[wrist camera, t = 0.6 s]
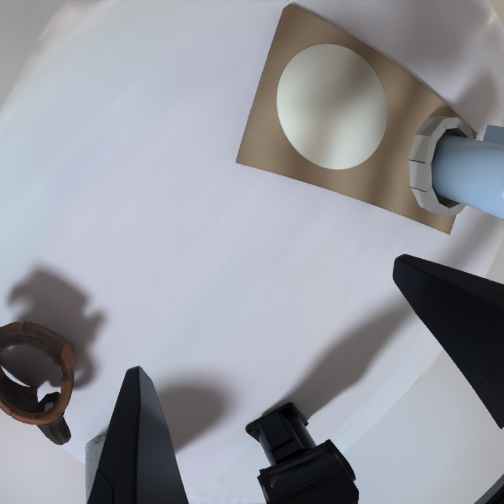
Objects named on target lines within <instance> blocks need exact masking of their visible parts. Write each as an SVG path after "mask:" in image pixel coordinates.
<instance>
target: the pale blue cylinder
mask: <svg viewBox="0 0 504 504" xmlns="http://www.w3.org/2000/svg"><path fill="white" fill-rule="evenodd" d="M431 173H432V188H433V190H434V193H435V195H438V196H441V197H444V198H447V199H450V200H453V201H456V202H459V203H461V204H464V205H467V206H470V207H473V208H475V209H478V210H481V211H483V212H486V213H488V214H491V215H494V216H496V217H499V218H501V219H504V127H499V126H493V125H487V128H486V132H485V135H484V138H483V141H481V140H476V139H470V138H464V137H458V136H451V135H444V134H442V136H441V137H440V138H439V140H438V141H437V142H436V146H435V150H434V154H433V158H432V162H431Z"/></svg>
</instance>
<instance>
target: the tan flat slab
mask: <svg viewBox="0 0 504 504" xmlns="http://www.w3.org/2000/svg"><path fill="white" fill-rule="evenodd" d="M442 134H444V135H451V136H458V137H464V138H470V139H476V134H477V133H476V132H475V131H474V130H473V129H472V128H471V127H470V126H469V125H468V124H467V123H466V122H465V121H464V120H463V119H462V118H461V117H460V116H459V115H458V114H457V113H456V112H455V111H453V110H452V109H451V108H450V107H449V106H448V105H447V104H446V103H444V102H443V101H442V100H441V99H440V98H439V97H438V96H436V95H435V94H434V93H433V92H432V91H430V90H429V89H428V88H427V87H425V86H424V85H423V84H422V83H420V82H419V81H418V80H417V79H415V78H414V77H413V76H411V75H410V74H409V73H407V72H406V71H405V70H403V69H402V68H400V67H399V66H398V65H396V64H395V63H393V62H392V61H391V60H389V59H388V58H386V57H385V56H383V55H382V54H380V53H379V52H377V51H376V50H374V49H373V48H371V47H369V46H368V45H366V44H365V43H363V42H361V41H360V40H358V39H356V38H355V37H353V36H351V35H349V34H348V33H346V32H344V31H342V30H341V29H339V28H337V27H335V26H333V25H331V24H330V23H328V22H326V21H324V20H322V19H320V18H318V17H316V16H314V15H312V14H310V13H308V12H306V11H303V10H301V9H299V8H297V7H295V6H292V5H290V4H289V5H287V6H286V7H285V8H284V9H283V12H282V15H281V18H280V21H279V24H278V26H277V29H276V32H275V35H274V38H273V41H272V44H271V48H270V51H269V54H268V57H267V60H266V63H265V66H264V69H263V72H262V76H261V79H260V82H259V85H258V88H257V92H256V95H255V98H254V101H253V105H252V108H251V111H250V115H249V118H248V121H247V125H246V128H245V132H244V135H243V138H242V142H241V145H240V149H239V152H238V156H237V159H236V163H239V164H243V165H247V166H250V167H254V168H258V169H261V170H265V171H269V172H272V173H276V174H279V175H283V176H286V177H289V178H293V179H296V180H299V181H303V182H306V183H309V184H312V185H316V186H319V187H322V188H325V189H328V190H331V191H334V192H337V193H340V194H343V195H346V196H349V197H352V198H355V199H358V200H361V201H364V202H366V203H369V204H372V205H375V206H378V207H380V208H383V209H386V210H388V211H391V212H394V213H396V214H399V215H402V216H404V217H407V218H409V219H412V220H415V221H417V222H420V223H422V224H425V225H427V226H429V227H432V228H434V229H437V230H439V231H442V232H444V233H446V234H449V235H450V233H451V230H452V227H453V224H454V221H455V218H456V214H458V213H460V212H461V211H462V210H463V209H464V207H465V206H466V205H464V204H461V203H459V202H456V201H453V200H450V199H447V198H444V197H441V196H438V195H435V193H434V190H433V188H432V173H431V162H432V158H433V154H434V150H435V146H436V142H437V141H438V140H439V138H440V137H441V136H442Z"/></svg>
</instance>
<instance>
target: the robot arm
mask: <svg viewBox="0 0 504 504" xmlns="http://www.w3.org/2000/svg"><path fill="white" fill-rule="evenodd" d="M393 280H394V282H395V284H396V285H397V286H398V288H399V289H400V291H401V292H402V294H403V295H404V297H405V298H406V300H407V301H408V303H409V304H410V306H411V307H412V309H413V310H414V311H415V313H416V314H417V315H418V317H419V318H420V319H421V320H422V322H423V323H424V324H425V325H426V327H427V328H428V329H429V330H430V332H431V333H432V334H433V335H434V337H435V338H436V339H437V340H438V342H439V343H440V344H441V346H442V347H443V348H444V350H446V352H447V353H448V355H449V356H450V357H451V359H452V360H453V361H454V363H455V364H456V365H457V367H458V368H459V369H460V371H461V372H462V374H463V375H464V376H465V378H466V379H467V380H468V382H469V383H470V385H471V386H472V388H473V389H474V390H475V392H476V393H477V395H478V396H479V398H480V399H481V400H482V402H483V403H484V405H485V407H486V408H487V409H488V411H489V413H490V414H491V416H492V417H493V419H494V420H495V422H496V423H497V425H498V426H499V428H500V429H502V428H503V427H504V284H501V283H498V282H495V281H490V280H489V279H485V278H482V277H479V276H476V275H473V274H470V273H467V272H464V271H460V270H457V269H454V268H451V267H448V266H444V265H441V264H438V263H434V262H431V261H428V260H424V259H421V258H418V257H414V256H411V255H407V254H403V255H401V256H399V257H397V258H396V259H395V261H394V268H393ZM308 424H309V423H308V421H307V420H306V419H305V418H304V416H303V415H302V414H301V413H300V411H299V410H298V409H297V408H296V406H295V405H294V404H293V403H288V404H287V405H285V406H283V407H282V408H280V409H278V410H276V411H275V412H273V413H271V414H269V415H268V416H266V417H264V418H262V419H260V420H259V421H257V422H255V423H253V424H251V425H249V426H247V427H246V428H245V430H246V432H247V433H248V434H249V435H251V436H252V437H253V438H254V439H256V440H257V441H258V442H259V443H261V445H262V447H263V450H264V452H265V454H266V456H267V458H268V460H269V462H270V465H271V466H270V467H268V468H265V469H264V468H263V469H261V470H259V471H260V473H261V474H260V475H259V476H258V477H257V478H258V481H259V483H260V485H261V488H262V491H263V494H264V497H265V500H266V503H267V504H358V500H359V491H358V489H357V487H356V486H355V484H354V482H353V481H355V480H356V477H355V474H354V472H353V469H352V468H351V466H350V464H349V463H348V461H347V460H346V458H345V457H344V456H343V455H342V454H341V452H340V451H339V450H338V449H337V448H336V446H335V445H334V444H333V443H332V441H331V440H330V439H328V440H326V441H325V442H324V443H322V444H320V445H318V446H317V445H316V444H315V442H314V441H313V439H312V437H311V436H310V434H309V432H308V431H307V429H306V426H307V425H308ZM87 504H189V503H188V499H187V496H186V493H185V490H184V486H183V483H182V479H181V476H180V472H179V469H178V465H177V461H176V458H175V454H174V450H173V446H172V442H171V438H170V433H169V430H168V426H167V423H166V420H165V417H164V414H163V412H162V409H161V406H160V403H159V400H158V397H157V393H156V390H155V387H154V384H153V382H152V380H151V379H150V378H149V376H148V375H147V374H146V373H145V371H144V370H143V369H142V368H141V367H140V366H136V367H133V368H130V369H128V370H127V371H126V374H125V377H124V380H123V383H122V386H121V389H120V392H119V395H118V398H117V401H116V405H115V408H114V411H113V414H112V417H111V421H110V424H109V427H108V431H107V434H106V437H105V441H104V444H103V448H102V451H101V455H100V459H99V462H98V468H97V470H96V474H95V477H94V481H93V485H92V488H91V492H90V495H89V498H88V501H87ZM474 504H504V474H503V475H502V476H501V478H500V479H499V480H498V481H497V482H496V483H495V484H494V485H493V486H492V487H491V488H490V489H489V490H488V491H487V492H486V493H485V494H484V495H483V496H482V497H481V498H480V499H479V500H478V501H477V502H475V503H474Z"/></svg>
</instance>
